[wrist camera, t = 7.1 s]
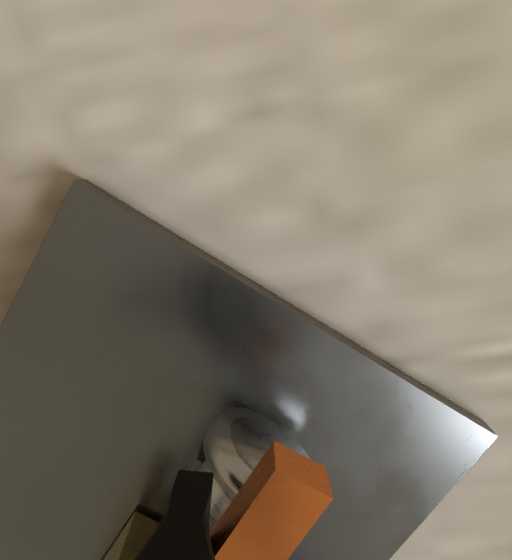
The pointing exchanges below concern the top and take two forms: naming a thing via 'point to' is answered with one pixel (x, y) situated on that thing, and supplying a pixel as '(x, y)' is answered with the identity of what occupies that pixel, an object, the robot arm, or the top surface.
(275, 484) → the lever
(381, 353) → the top surface
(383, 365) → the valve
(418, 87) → the top surface
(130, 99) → the top surface
